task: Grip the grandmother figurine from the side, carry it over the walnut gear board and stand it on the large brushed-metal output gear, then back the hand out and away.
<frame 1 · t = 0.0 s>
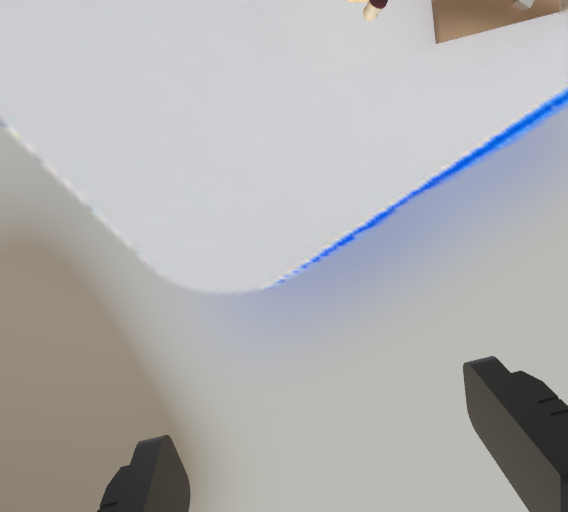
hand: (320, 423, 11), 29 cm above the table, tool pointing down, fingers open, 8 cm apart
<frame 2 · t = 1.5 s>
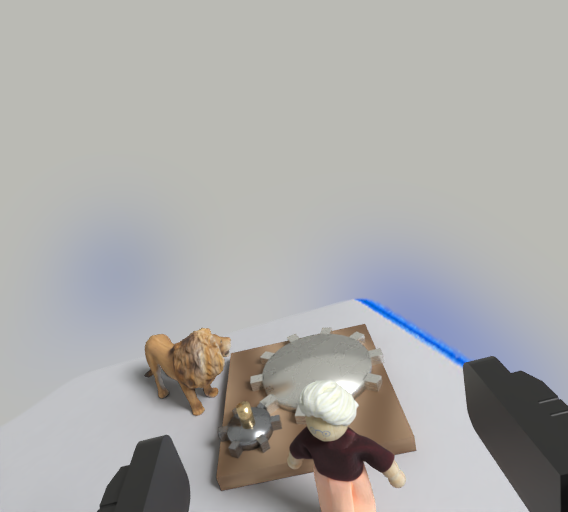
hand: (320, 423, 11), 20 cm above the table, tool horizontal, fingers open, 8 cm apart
lion figurine: (194, 393, 47), on the table
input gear: (255, 444, 38), resting on gear board
gear board: (307, 398, 42), on the table
output gear: (320, 385, 43), resting on gear board
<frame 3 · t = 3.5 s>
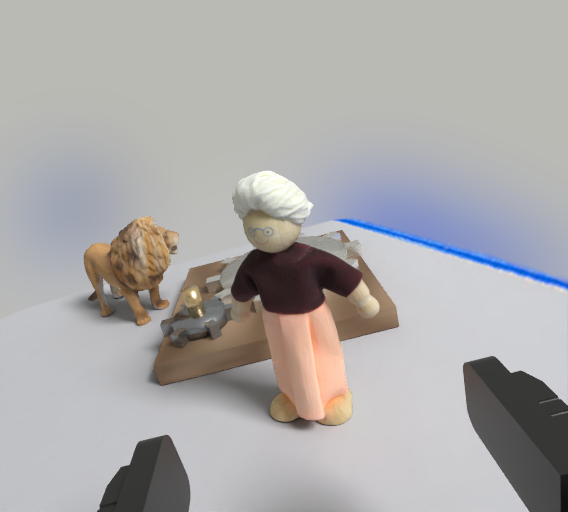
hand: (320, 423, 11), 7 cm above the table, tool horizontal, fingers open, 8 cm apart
grandmother figurine: (323, 409, 22), on the table
lion figurine: (142, 309, 41), on the table
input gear: (208, 342, 31), resting on gear board
gear board: (273, 298, 35), on the table
output gear: (289, 287, 37), resting on gear board
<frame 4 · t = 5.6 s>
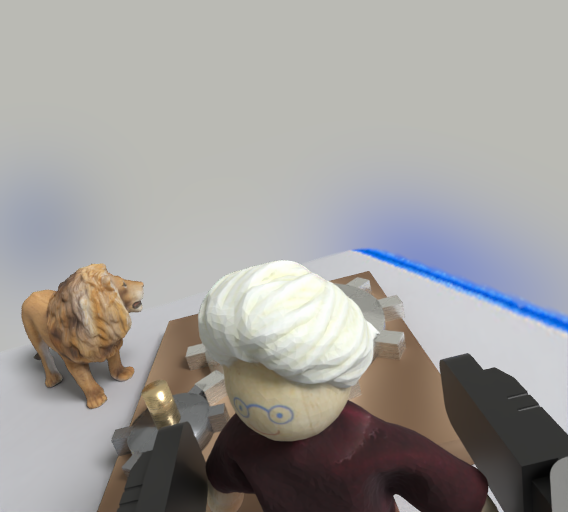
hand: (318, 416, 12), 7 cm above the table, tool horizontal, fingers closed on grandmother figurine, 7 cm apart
lion figurine: (100, 377, 31), on the table
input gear: (185, 459, 21), resting on gear board
gear board: (280, 379, 25), on the table
output gear: (301, 359, 27), resting on gear board
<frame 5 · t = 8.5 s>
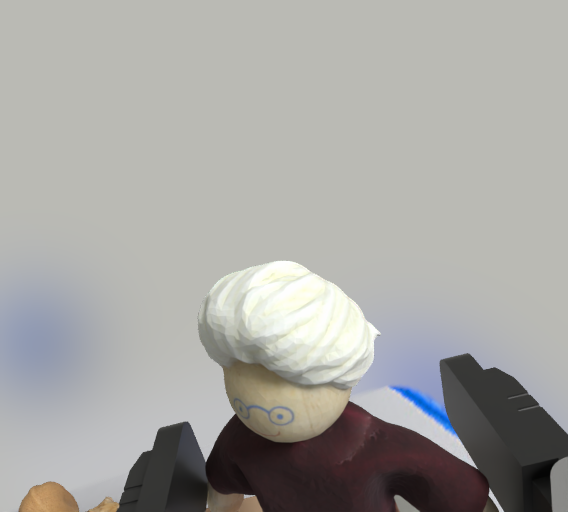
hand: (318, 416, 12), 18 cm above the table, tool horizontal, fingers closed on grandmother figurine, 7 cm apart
when the fingers open (11 cm above the table, at t = 11.0 s): grandmother figurine drops 1 cm, resting on output gear.
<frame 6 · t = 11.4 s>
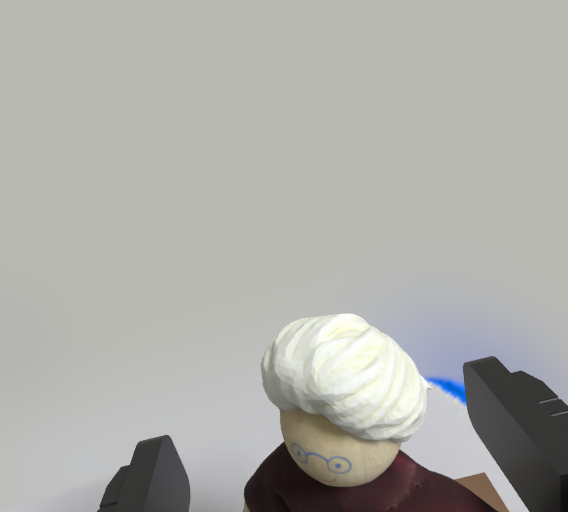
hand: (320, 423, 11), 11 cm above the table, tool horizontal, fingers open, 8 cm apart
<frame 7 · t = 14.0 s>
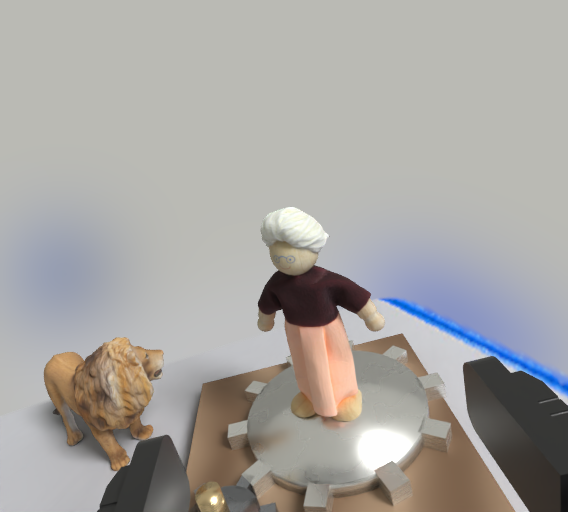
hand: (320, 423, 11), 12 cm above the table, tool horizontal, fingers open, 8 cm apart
grandmother figurine: (336, 407, 26), point 2 cm above the table, touching output gear
lion figurine: (119, 435, 32), on the table
gear board: (322, 460, 25), on the table
output gear: (341, 435, 27), resting on gear board
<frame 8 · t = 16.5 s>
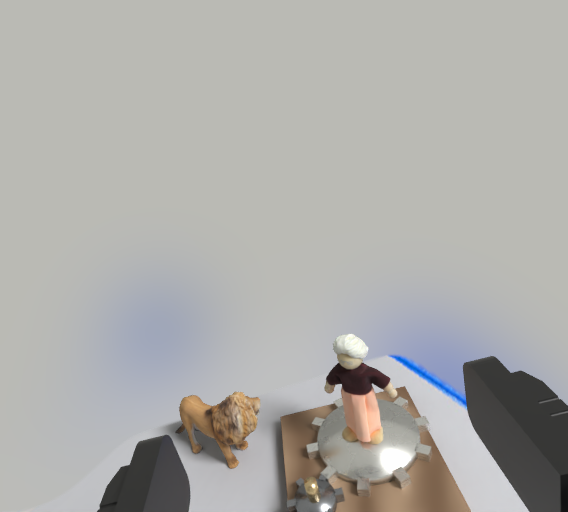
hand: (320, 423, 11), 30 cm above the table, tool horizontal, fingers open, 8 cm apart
grandmother figurine: (368, 435, 46), point 2 cm above the table, touching output gear
lion figurine: (225, 446, 53), on the table
gear board: (360, 465, 45), on the table
output gear: (370, 451, 47), resting on gear board
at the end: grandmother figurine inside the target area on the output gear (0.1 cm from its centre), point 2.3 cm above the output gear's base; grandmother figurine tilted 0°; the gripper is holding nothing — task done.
